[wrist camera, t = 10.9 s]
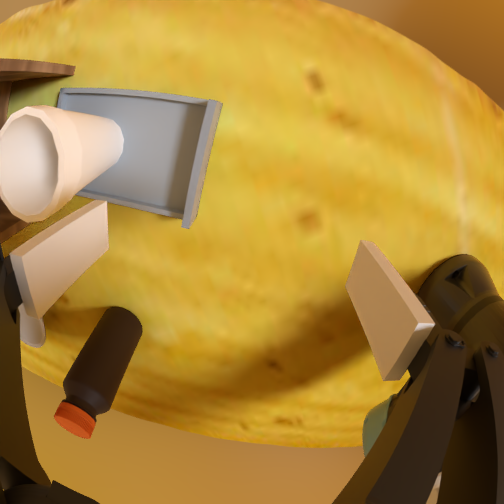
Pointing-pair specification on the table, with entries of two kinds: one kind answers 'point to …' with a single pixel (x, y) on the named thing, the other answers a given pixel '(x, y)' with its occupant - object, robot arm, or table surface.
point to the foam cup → (53, 158)
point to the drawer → (151, 148)
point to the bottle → (98, 371)
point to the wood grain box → (3, 73)
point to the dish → (31, 329)
